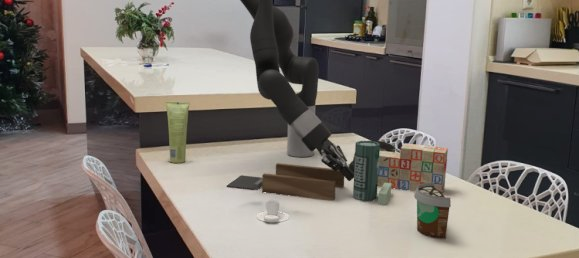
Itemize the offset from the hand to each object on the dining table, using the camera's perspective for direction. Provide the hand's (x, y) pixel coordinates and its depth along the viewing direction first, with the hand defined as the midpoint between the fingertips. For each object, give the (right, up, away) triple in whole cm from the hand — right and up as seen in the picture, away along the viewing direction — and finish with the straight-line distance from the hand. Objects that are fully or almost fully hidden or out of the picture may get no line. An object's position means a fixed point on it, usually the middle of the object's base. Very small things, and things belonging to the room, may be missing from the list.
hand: (352, 178), depth 163 cm
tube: (-53, +3, +31) cm, 62 cm away
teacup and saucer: (-24, -9, -17) cm, 31 cm away
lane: (-13, -4, +5) cm, 14 cm away
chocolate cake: (+9, 0, +26) cm, 28 cm away
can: (+3, -5, -1) cm, 6 cm away
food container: (+15, -10, -23) cm, 29 cm away
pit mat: (-29, -2, +10) cm, 31 cm away
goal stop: (+9, -5, -1) cm, 10 cm away
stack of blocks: (+16, -4, +10) cm, 19 cm away
